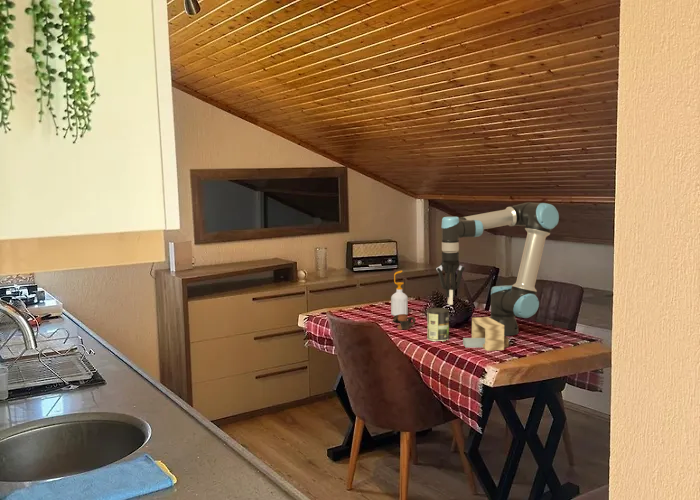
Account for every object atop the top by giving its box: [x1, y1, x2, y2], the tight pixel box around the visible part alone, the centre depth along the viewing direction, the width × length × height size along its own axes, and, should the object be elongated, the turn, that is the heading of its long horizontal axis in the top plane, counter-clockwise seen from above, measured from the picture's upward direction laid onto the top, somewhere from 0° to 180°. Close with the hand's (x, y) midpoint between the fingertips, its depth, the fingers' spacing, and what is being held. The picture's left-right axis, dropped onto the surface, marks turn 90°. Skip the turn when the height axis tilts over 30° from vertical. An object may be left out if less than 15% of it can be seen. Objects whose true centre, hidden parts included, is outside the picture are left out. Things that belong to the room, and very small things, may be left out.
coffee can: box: [426, 307, 450, 342], centre depth 316 cm, size 10×10×14 cm
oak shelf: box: [471, 316, 510, 352], centre depth 304 cm, size 12×18×11 cm, turn 11°
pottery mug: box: [391, 314, 416, 331], centre depth 340 cm, size 12×10×8 cm
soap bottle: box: [390, 270, 409, 317], centre depth 371 cm, size 9×9×25 cm
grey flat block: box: [462, 337, 485, 348], centre depth 304 cm, size 14×7×3 cm, turn 89°
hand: (450, 304), depth 300 cm, fingers closed
